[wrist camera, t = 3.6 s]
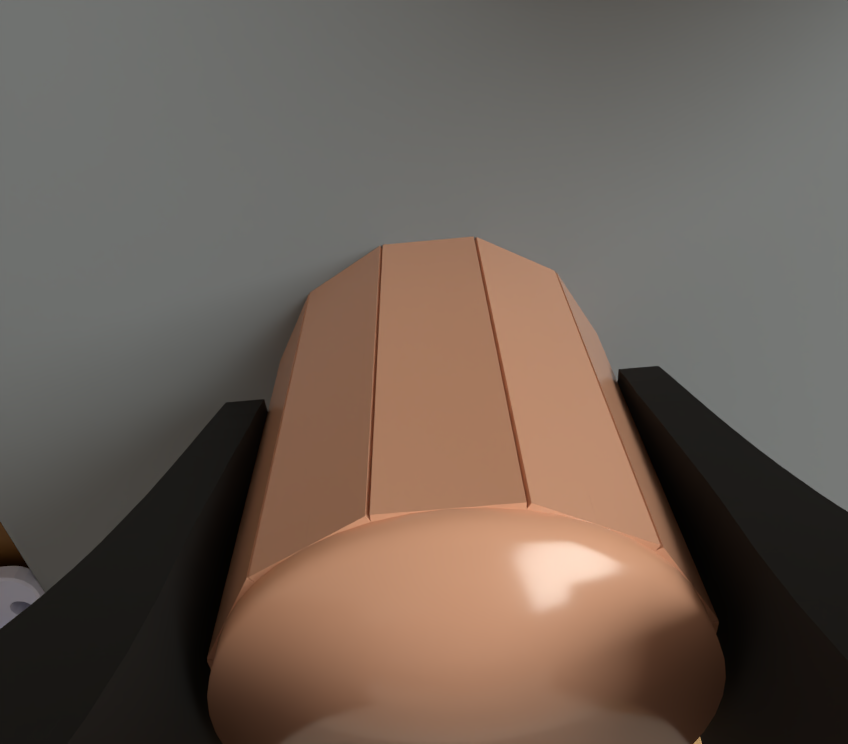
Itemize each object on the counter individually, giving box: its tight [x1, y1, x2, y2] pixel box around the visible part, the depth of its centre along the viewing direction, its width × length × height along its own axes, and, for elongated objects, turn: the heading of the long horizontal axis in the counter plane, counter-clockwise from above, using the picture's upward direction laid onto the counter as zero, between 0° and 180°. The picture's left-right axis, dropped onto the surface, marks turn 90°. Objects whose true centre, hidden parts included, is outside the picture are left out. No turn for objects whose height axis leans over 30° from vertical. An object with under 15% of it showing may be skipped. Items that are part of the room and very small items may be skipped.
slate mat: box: [0, 0, 848, 592], centre depth 10 cm, size 22×20×1 cm
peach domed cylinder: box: [207, 236, 726, 744], centre depth 10 cm, size 5×5×6 cm
